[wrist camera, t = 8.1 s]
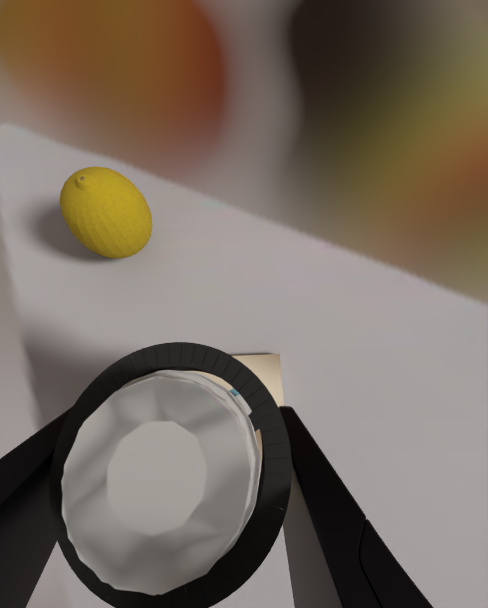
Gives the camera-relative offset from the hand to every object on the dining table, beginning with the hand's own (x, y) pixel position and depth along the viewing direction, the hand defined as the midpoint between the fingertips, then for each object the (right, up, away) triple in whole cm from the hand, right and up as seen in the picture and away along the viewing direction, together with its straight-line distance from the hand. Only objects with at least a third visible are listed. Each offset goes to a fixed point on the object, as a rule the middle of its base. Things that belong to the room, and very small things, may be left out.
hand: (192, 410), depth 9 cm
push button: (0, -3, +6) cm, 7 cm away
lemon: (-8, +8, +16) cm, 20 cm away
